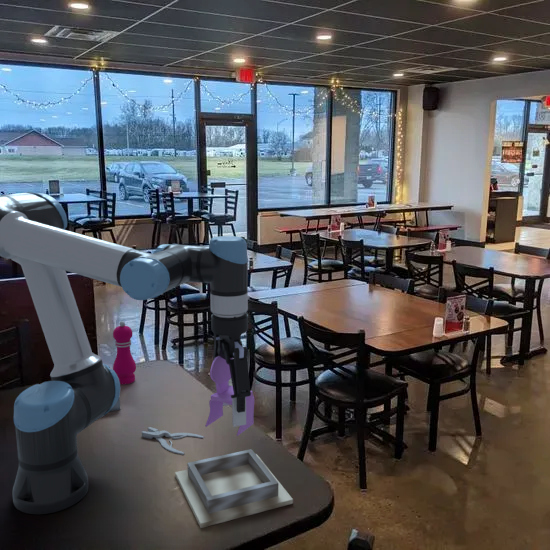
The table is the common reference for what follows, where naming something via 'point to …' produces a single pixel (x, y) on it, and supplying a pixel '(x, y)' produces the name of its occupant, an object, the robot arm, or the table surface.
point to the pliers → (159, 434)
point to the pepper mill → (124, 354)
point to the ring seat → (230, 487)
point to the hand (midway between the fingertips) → (231, 414)
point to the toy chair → (226, 394)
